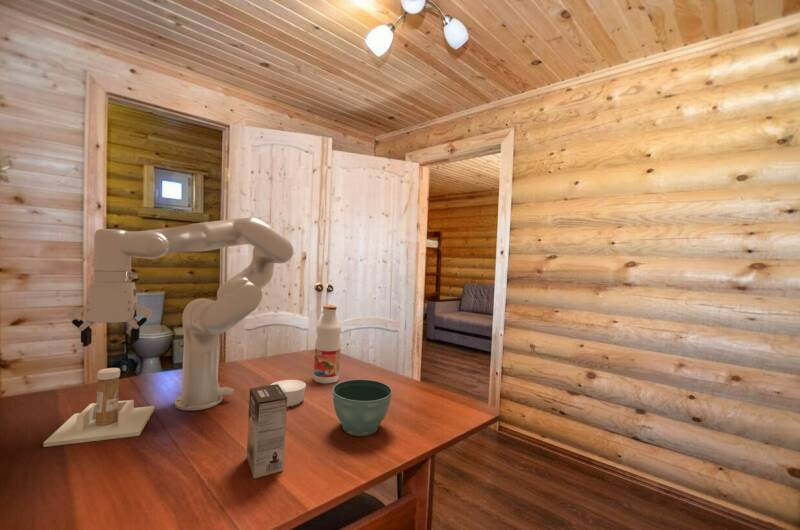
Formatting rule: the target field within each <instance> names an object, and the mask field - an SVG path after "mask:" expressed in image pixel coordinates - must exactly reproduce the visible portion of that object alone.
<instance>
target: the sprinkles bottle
mask: <svg viewBox="0 0 800 530" xmlns="http://www.w3.org/2000/svg"><path fill="white" fill-rule="evenodd" d="M96 373H97V375H96V380H97V389H96V402H95V403H96V421H95V424H97V425H108V424H111V423H113V422H115V421H116V420H117V419H118V418H117V408H118V401H119V393H120V392H119V387H120V386H119V383H120V382H119V381H120V376H121V369H120V368H119V367H107V368H102V369H100V370H98V371H97V372H96Z"/></svg>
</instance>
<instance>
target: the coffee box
mask: <svg viewBox="0 0 800 530" xmlns="http://www.w3.org/2000/svg"><path fill="white" fill-rule="evenodd" d="M248 400H249V401H248V421H247V422H248V423H247V445H246V459H247V462H248V465H249V468H250V471H251V474H252V477H253V479H258V478H262V477H265V476H269V475H272V474H273V475H274V474H276V473H277V474H278V473H280V472H283V471H284V467H285V465H284V463H285V445H286V430H287V429H286V427H287V410H288V407H287V396H286V395H285V394H284V392H283V391H282V389H281V388H280V386H279V385H278V384H275V385H271V384H270V385H269V384H268V385H263V386H257V387H250V388H249V399H248Z"/></svg>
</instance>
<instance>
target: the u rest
mask: <svg viewBox="0 0 800 530" xmlns="http://www.w3.org/2000/svg"><path fill="white" fill-rule="evenodd" d="M134 401H135V399H128V400H126V399H125V400H118V408H117V418H118V419H117V420H116V421H115V422H113V423H111V424H108V425H97V424H95V421H96V402H95V403H94V402H92V403H89V405H87V406H86V407H85V408H84V410H82V411H81V412H77V413H76V412H75V413H73V415H71V416H70V417H69V418H68V419H67V420H66V421H65V422H64V423H62V424H61V426H59V428H58V429H56V430H55V432H53V433H52V434H51V435H50V436H49V437H48V438H47V439H46V440H45V441H43V444H42V445H43V446H42V447H43V448H46V447H54V446H55V447H56V446H63V445H71V444H79V443H88V442H96V441H97V442H98V441H105V440H114V439H115V440H116V439H123V438H130V437H131V438H132V437H138V436H140V435H141V433H142V432H143V430H144V428H145V427H146V424H147V423H148V422H149V420H150V418H151V417H152V415H153V413H154V411H155V410H154V409H156V408H155V407H156V406H155V405H151V406H150V405H149V406H141V407H134V405H135V402H134ZM151 414H152V415H151ZM150 416H151V417H150ZM147 421H148V422H147Z"/></svg>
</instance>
